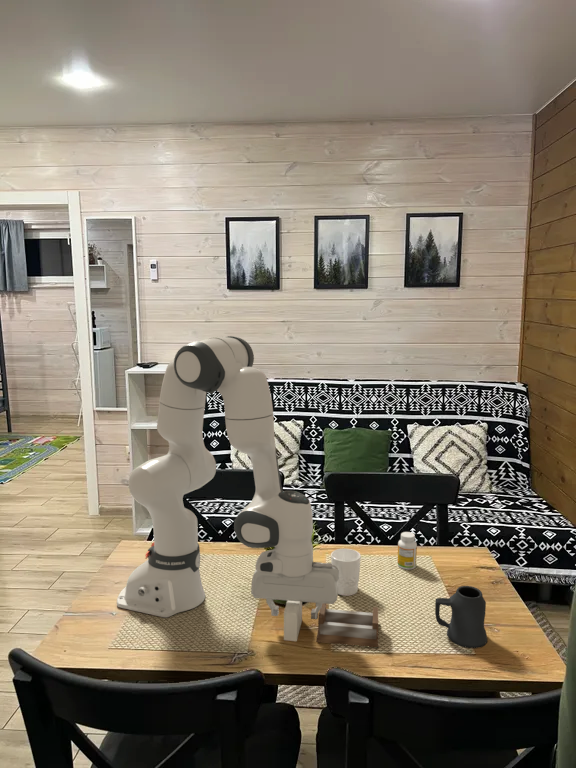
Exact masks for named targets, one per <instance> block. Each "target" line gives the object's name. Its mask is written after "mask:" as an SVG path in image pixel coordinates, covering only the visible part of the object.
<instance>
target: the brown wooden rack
mask: <svg viewBox="0 0 576 768" xmlns="http://www.w3.org/2000/svg"><path fill="white" fill-rule="evenodd" d="M317 623H318V626H317V633H316V642H317V643H325V644H333V645H335V644H336V645H344V646H354V645H359V646H358V647H364V646H369V647H368V648H374V647H378V648H379V625H380V624H379V607H375V606H373V607H372V612H363V611H353V610H342V609H332V608H327V604H326V603H322V607H321V609H320V610H319V612H318V619H317ZM346 644H347V645H346Z"/></svg>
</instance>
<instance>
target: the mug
mask: <svg viewBox="0 0 576 768" xmlns="http://www.w3.org/2000/svg"><path fill="white" fill-rule="evenodd" d="M434 603H435V604H434V605H435V606H434V609H435V610H434V611H435V612H434V613H435V621H436V622H437V624H438V625H440V627H445V628H446V629H447V631H446V636H447V638H448V639H449V641H451V642H452V643H453V644H455V645H456V646H459V647H462V648H467V649H478V648H483V647H484V646H486V644H487V643H488V636H487V631H486V628H485V619H486V618H485V617H486V609H487V608H486V607H487V600H486V599H485V598H484V596H483V592H482V591H481V590H480V588H477V587H475V586H471V585H461V586H458V587H457V588H456V590H455V593H453V594H452V595H451V596H450V597H439V598H438V597H436V598H435V602H434ZM441 606H446V607H450V609H451V617H450V622H449V623H448V622H447V621H445V620H444V619H442V618H441V616H440V610H441V609H440V608H441Z"/></svg>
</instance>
